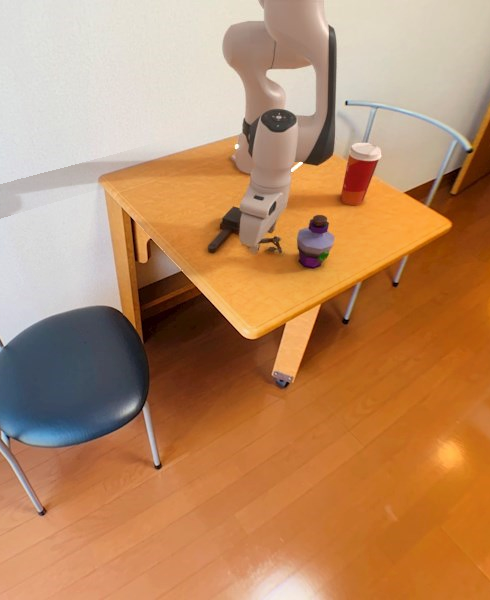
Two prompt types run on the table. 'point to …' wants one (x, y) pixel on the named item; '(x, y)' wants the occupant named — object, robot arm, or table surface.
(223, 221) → the mallet
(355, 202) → the coffee cup
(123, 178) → the table surface
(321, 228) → the potion bottle
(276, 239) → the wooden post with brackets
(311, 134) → the robot arm
